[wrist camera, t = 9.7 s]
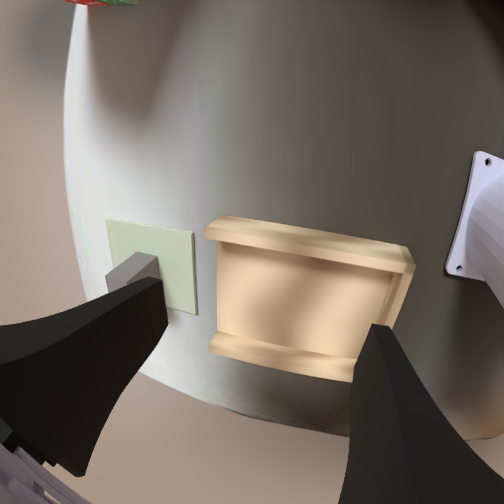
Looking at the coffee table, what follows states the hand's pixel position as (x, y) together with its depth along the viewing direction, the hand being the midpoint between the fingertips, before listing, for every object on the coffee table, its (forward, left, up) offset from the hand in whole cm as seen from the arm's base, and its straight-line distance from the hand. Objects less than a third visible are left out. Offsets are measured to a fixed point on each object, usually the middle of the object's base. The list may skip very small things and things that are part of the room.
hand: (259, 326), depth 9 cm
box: (-1, +5, -9) cm, 11 cm away
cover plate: (+11, +5, -10) cm, 16 cm away
